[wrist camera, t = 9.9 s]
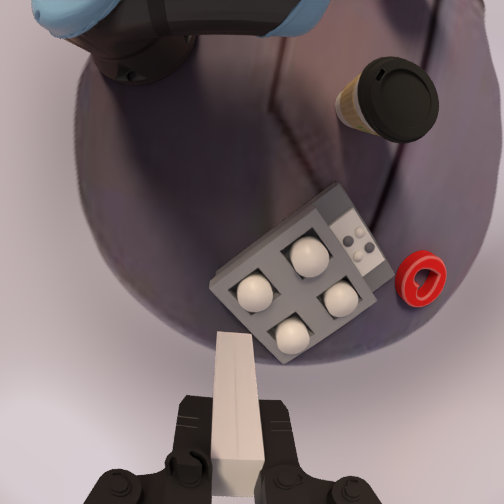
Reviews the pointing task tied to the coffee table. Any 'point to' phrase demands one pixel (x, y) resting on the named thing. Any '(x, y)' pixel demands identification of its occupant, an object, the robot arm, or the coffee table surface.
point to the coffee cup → (390, 101)
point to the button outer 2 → (340, 299)
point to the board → (299, 287)
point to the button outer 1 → (291, 335)
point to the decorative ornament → (432, 284)
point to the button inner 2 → (308, 256)
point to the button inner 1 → (254, 292)
